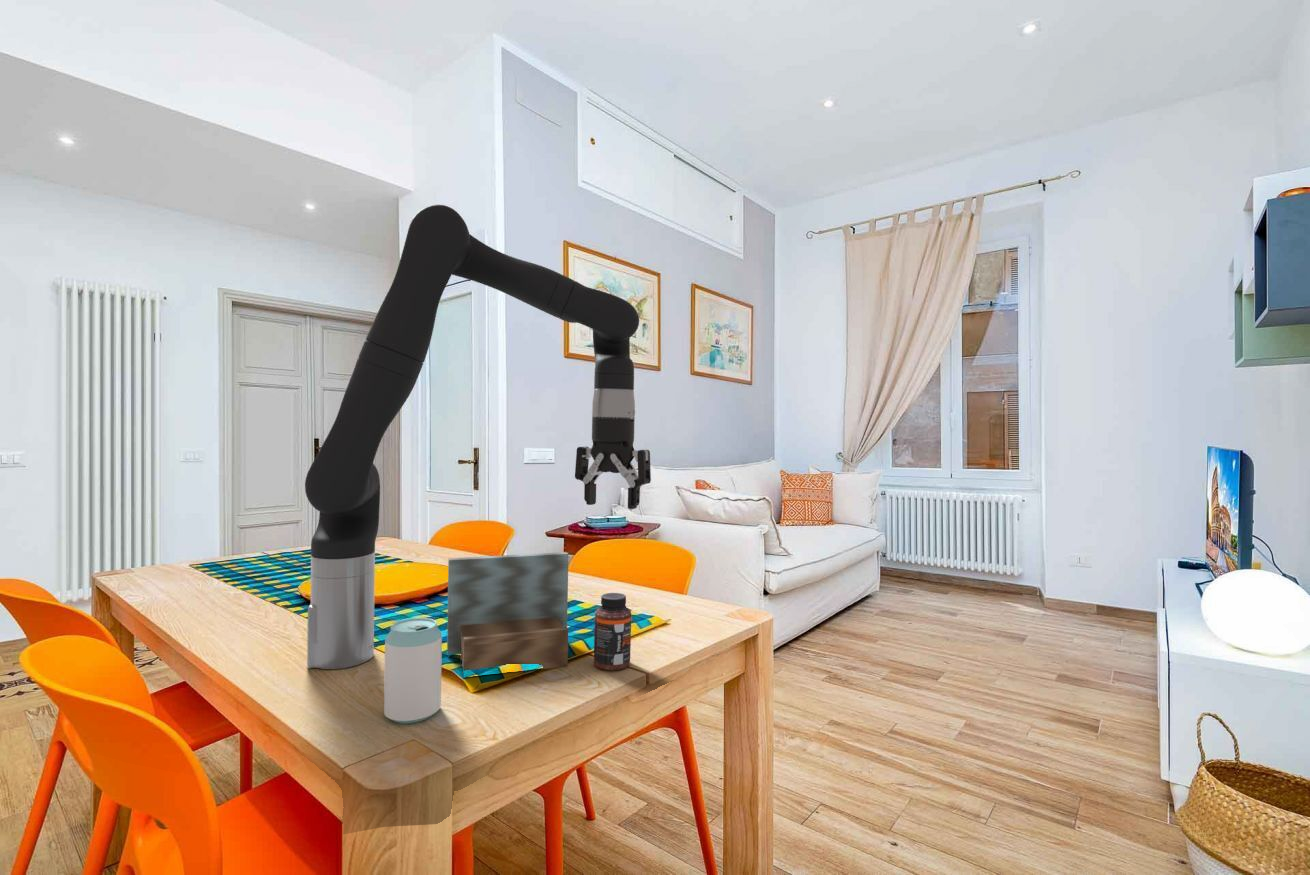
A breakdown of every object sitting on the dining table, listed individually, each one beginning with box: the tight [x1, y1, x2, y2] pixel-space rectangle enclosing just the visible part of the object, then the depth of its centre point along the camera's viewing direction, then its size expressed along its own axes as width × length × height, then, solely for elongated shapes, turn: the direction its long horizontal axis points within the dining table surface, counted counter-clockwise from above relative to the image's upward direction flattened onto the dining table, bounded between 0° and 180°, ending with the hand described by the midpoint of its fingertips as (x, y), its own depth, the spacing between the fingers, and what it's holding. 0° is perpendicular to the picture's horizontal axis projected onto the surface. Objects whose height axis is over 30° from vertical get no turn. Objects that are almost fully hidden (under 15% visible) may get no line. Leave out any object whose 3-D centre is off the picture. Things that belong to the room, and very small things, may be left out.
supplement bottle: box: [593, 592, 632, 671], centre depth 101 cm, size 6×6×11 cm
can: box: [383, 617, 443, 724], centre depth 83 cm, size 7×7×12 cm
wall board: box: [446, 551, 569, 671], centre depth 102 cm, size 20×11×16 cm, turn 110°
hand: (611, 506), depth 110 cm, fingers open, 8 cm apart
